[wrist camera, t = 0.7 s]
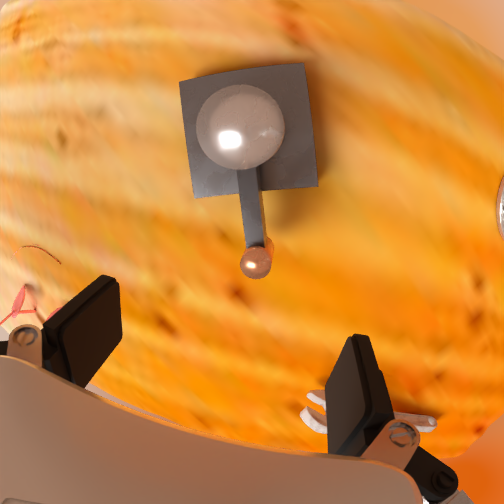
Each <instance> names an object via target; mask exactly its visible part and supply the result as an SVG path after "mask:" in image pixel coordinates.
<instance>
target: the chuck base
mask: <svg viewBox="0 0 504 504" xmlns="http://www.w3.org/2000/svg"><path fill="white" fill-rule="evenodd" d="M232 85H250V86H254V87H257V88H259V89H261V90H263V91H265V92H266V93H268V94H269V95H270V96H271V97H272V98H273V99H274V100H275V101H276V103H277V104H278V106H279V108H280V110H281V112H282V115H283V119H284V123H285V135H284V139H283V142H282V144H281V146H280V148H279V150H278V151H277V152H276V153H275V154H274V155H273V156H272V157H271V158H270V159H268V160H267V161H265V162H264V163H262V164H260V165H259V172H260V181H261V189H262V191H267V190H279V189H291V188H304V187H318V177H317V165H316V155H315V145H314V135H313V126H312V118H311V110H310V102H309V95H308V87H307V81H306V74H305V67H304V63H294V64H282V65H272V66H263V67H255V68H248V69H241V70H235V71H229V72H223V73H218V74H213V75H208V76H203V77H198V78H194V79H189V80H185V81H181V82H179V87H180V96H181V105H182V113H183V121H184V129H185V137H186V144H187V152H188V159H189V166H190V173H191V179H192V186H193V192H194V198H202V197H210V196H219V195H228V194H237V193H239V187H238V179H237V172H236V169H229V168H226V167H223V166H220V165H218V164H217V163H215V162H214V161H212V160H211V159H210V158H209V157H208V156H207V155H206V154H205V153H204V151H203V150H202V148H201V146H200V144H199V142H198V139H197V134H196V122H197V117H198V114H199V111H200V109H201V107H202V106H203V104H204V103H205V101H206V100H207V99H208V98H209V97H210V96H211V95H212V94H214V93H215V92H217V91H218V90H220V89H222V88H225V87H228V86H232Z"/></svg>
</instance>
